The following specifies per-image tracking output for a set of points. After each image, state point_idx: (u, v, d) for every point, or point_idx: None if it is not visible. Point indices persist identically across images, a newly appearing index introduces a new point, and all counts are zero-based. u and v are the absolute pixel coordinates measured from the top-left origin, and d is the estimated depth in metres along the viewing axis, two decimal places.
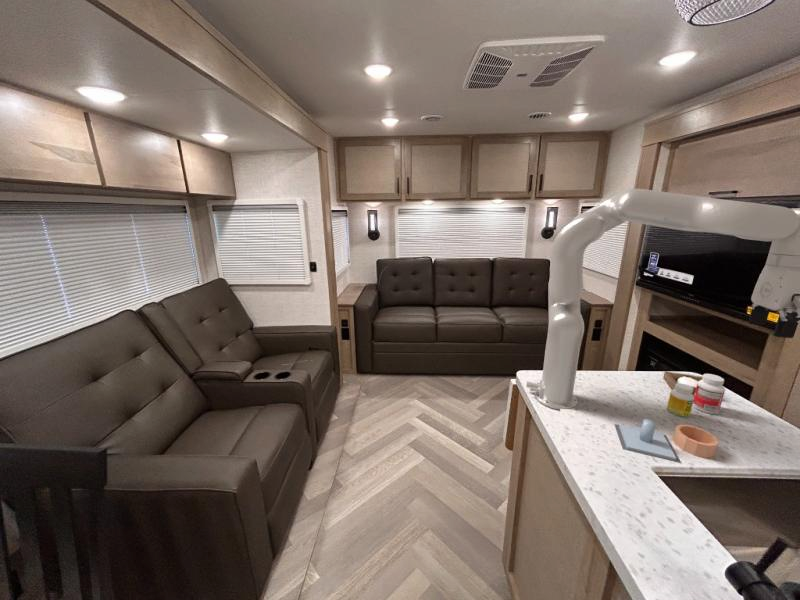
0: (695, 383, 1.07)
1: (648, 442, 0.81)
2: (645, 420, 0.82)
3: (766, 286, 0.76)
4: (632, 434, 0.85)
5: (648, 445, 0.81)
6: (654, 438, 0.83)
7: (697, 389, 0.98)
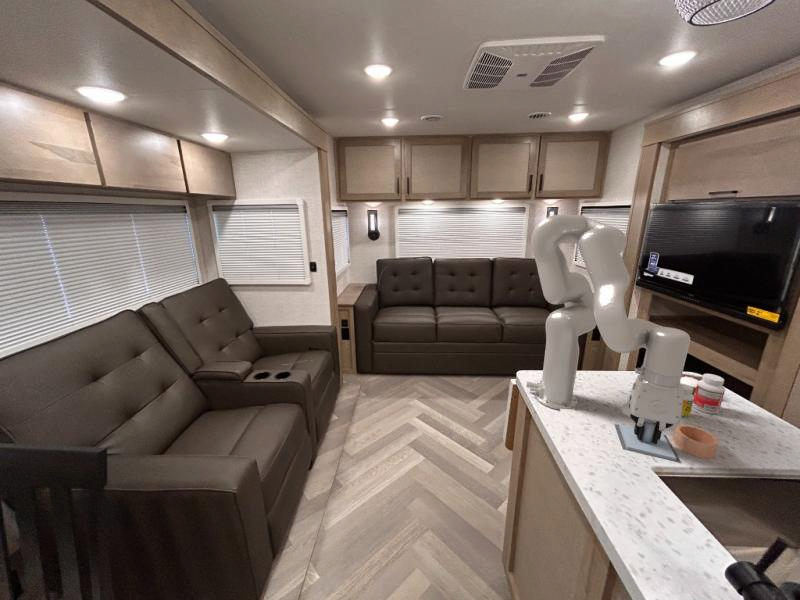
0: None
1: (648, 442, 0.81)
2: (645, 420, 0.82)
3: (657, 403, 0.77)
4: (632, 434, 0.85)
5: (648, 445, 0.81)
6: None
7: (697, 389, 0.98)
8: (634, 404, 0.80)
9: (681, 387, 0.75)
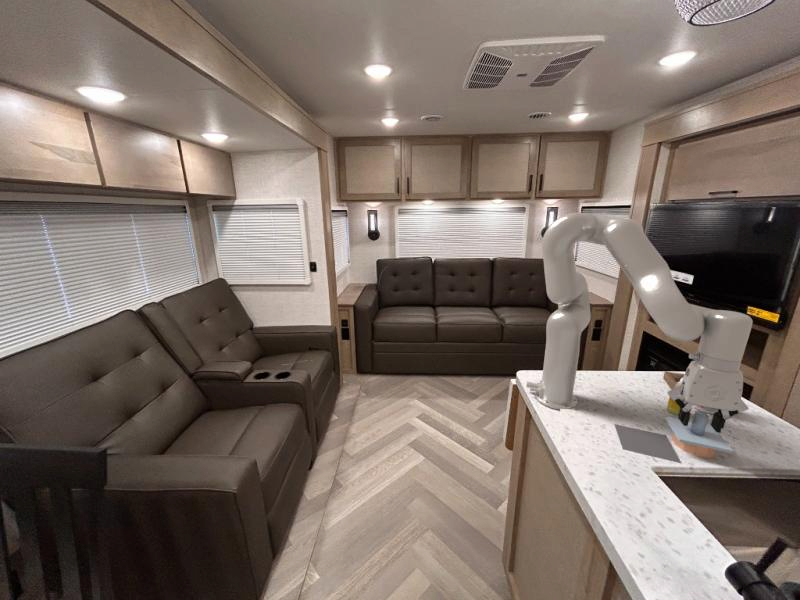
0: None
1: (701, 435, 0.79)
2: (697, 412, 0.79)
3: (714, 389, 0.74)
4: (682, 427, 0.82)
5: (701, 438, 0.78)
6: (705, 431, 0.81)
7: None
8: (688, 391, 0.77)
9: (740, 372, 0.72)
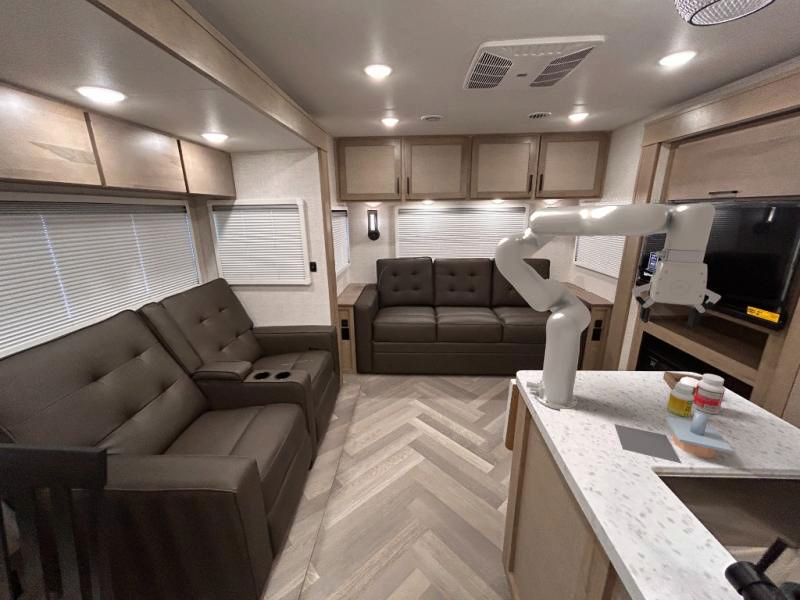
0: None
1: (701, 435, 0.79)
2: (697, 412, 0.79)
3: (680, 284, 0.75)
4: (682, 427, 0.82)
5: (701, 438, 0.78)
6: (705, 431, 0.81)
7: (697, 389, 0.98)
8: (655, 288, 0.77)
9: (705, 264, 0.73)
